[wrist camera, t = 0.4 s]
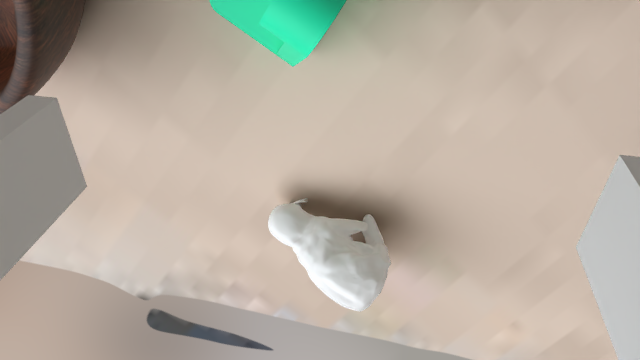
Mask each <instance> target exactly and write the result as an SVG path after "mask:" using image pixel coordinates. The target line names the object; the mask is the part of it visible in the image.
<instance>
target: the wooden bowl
mask: <svg viewBox="0 0 640 360" xmlns="http://www.w3.org/2000/svg"><path fill="white" fill-rule="evenodd" d="M84 2H85V0H0V114H2V113H3V112H5V111H6V110H7V109H9V108H10V107H12V106H13V105H15V104H16V103H18V102H19V101H21V100H22V99H23V98H25V97H26V96H28V95H33V96H34V95H35V94H36V93H37V92H38V91H39V90H40V89H41V88H42V87H43V86H44V84H45V83H46V82H47V81H48V80H49V79H50V78H51V76H52V75H53V74H54V73H55V71H56V70H57V69H58V67H59V66H60V65H61V63H62V62H63V60H64V59H65V57H66V55H67V54H68V52H69V50H70V48H71V46H72V44H73V42H74V40H75V37H76V35H77V32H78V29H79V26H80V22H81V18H82V14H83V8H84Z"/></svg>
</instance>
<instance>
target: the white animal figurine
mask: <svg viewBox="0 0 640 360" xmlns="http://www.w3.org/2000/svg"><path fill="white" fill-rule="evenodd" d="M306 199H308V198H306ZM306 199H301V200H300V201H299V200H298V201H296V202H293V203H289V204H283V205H278V206H277V207H275V208H274V209H273V211H272V212H271V214H270V216H269V219H268V227H269V230H270V232H271V233H272V235H273V236H274V237H275V238H277V239H278V240H279V241H281V242H282V243H284V244H286V245H288V246H291V247H292V248H293V251H294V252H295V253H296V255H297V257H298V260H299V262H300V263H301V264H302V265H303V266H304V267H305V269H306V270H307V272H308V275H309V277H310V279H311V280H312V281H313V282H314V283H315V284H316V286H317V287H318V288H319V289H320V290H322V291H323V292H324V293H325V294H326V295H327V296H328V297H329V298H331V299H332V300H334V301H335V302H337V303H338V304H340V305H341V306H343V307H345V308H348V309H352V310H355V311H363V310H364V309H366V308H368V307H369V306H370V305H371V304H372V302H373V301H374V300H375V299H376V297H377V296H378V295H379V294H380V293H381V291H382V288H383V286H384V283H385V280H386V278H387V272H388V268H389V266H390V264H391V260H390V258H389V255H388V248H387V246H386V245H384V240H383V237H382V235H381V233H380V231H379V229H378V226H377V224H376V222H375V219H374V218H373V216H371V215H370V214H367V215H366V216H365V217H364V218H363V221H358V220H350V219H340V218H327V217H324V216H314V215H311V214H309V213H307V212H305V211H304V210H303V209H302V208H301V207H300V205H299V204H298V203H302V202H307V201H303V200H306ZM303 205H305V204H303ZM361 231H362V234H363V236H364V238H365V240H366V244H365V243H362V242H358V241H353V238H352V237H351V235H352V234H355V233H358V232H361Z"/></svg>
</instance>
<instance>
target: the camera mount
mask: <svg viewBox="0 0 640 360" xmlns="http://www.w3.org/2000/svg"><path fill="white" fill-rule="evenodd" d="M345 2H346V0H210V4H211V6H212V8H213V9H214V10H215V11H216V12H217V13H218V14H220V15H221V16H222V17H224V18H225V19H227V20H228V21H229V22H231V23H232V24H234V25H235V26H237V27H238V28H239V29H241V30H242V31H244V32H245V33H246V34H248V35H249V36H251V37H252V38H253V39H255V40H256V41H258V42H259V43H260V44H262V45H263V46H265V47H266V48H267V49H269V50H270V51H272V52H273V53H274V54H276V55H277V56H279V57H280V58H281V59H283V60H284V61H286V62H287V63H289V64H290V65H291V66H295V65H296V64H298V63H299V62H301V61H302V60H304V59H305V58H307V57H308V55H309V54H310V53H311V52H312V50H313V49H314V48H315V47H316V45H317V44H318V42H319V41H320V40H321V38H322V37H323V35H324V34H325V33H326V31H327V30H328V28H329V27H330V25H331V24H332V22H333V21H334V19H335V18H336V16H337V15H338V13H339V12H340V10H341V8H342V7H343V5H344V3H345Z"/></svg>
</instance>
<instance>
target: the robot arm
mask: <svg viewBox="0 0 640 360" xmlns="http://www.w3.org/2000/svg"><path fill="white" fill-rule="evenodd" d="M86 187H87V185H86V182H85V179H84V176H83V173H82V170H81V167H80V164H79V162H78V159H77V156H76V153H75V150H74V147H73V144H72V141H71V138H70V135H69V132H68V129H67V126H66V123H65V121H64V118H63V115H62V112H61V109H60V106H59V103H58V100H57V98H52V97H42V96H33V95H28V96H26V97H25V98H23V99H22V100H21V101H19V102H18V103H16V104H15V105H13V106H12V107H10V108H9V109H7V110H6V111H5V112H3V113H2V114H0V280H1V279H2V278H3V277H4V276H5V275H6V274H7V273H8V271H9V270H10V269H11V268H12V267H13V266H14V265H15V264H16V263H17V262H18V261H19V260H20V259H21V257H22V256H23V255H24V254H25V253H26V252H27V251H28V250H29V249H30V248H31V247H32V246H33V244H34V243H35V242H36V241H37V240H38V239H39V238H40V237H41V236H42V235H43V234H44V233H45V231H46V230H47V229H48V228H49V227H50V226H51V225H52V224H53V223H54V222H55V221H56V220H57V218H58V217H59V216H60V215H61V214H62V213H63V212H64V211H65V210H66V209H67V208H68V207H69V205H70V204H71V203H72V202H73V201H74V200H75V199H76V198H77V197H78V196H79V195H80V194H81V192H82V191H83V190H84V189H85V188H86ZM576 249H577V251H578V254H579V257H580V259H581V262H582V265H583V267H584V270H585V272H586V275H587V278H588V280H589V283H590V286H591V288H592V291H593V294H594V296H595V299H596V302H597V304H598V307H599V309H600V312H601V315H602V317H603V320H604V323H605V325H606V328H607V331H608V333H609V336H610V339H611V341H612V344H613V346H614V349H615V352H616V354H617V357H618V360H640V157H635V156H625V155H620V156H619V158H618V160H617V162H616V164H615V166H614V168H613V170H612V172H611V174H610V177H609V179H608V181H607V183H606V185H605V187H604V189H603V191H602V193H601V195H600V198H599V200H598V202H597V204H596V206H595V208H594V210H593V212H592V214H591V216H590V219H589V221H588V223H587V225H586V227H585V229H584V231H583V233H582V235H581V237H580V240H579V242H578V244H577V246H576Z"/></svg>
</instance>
